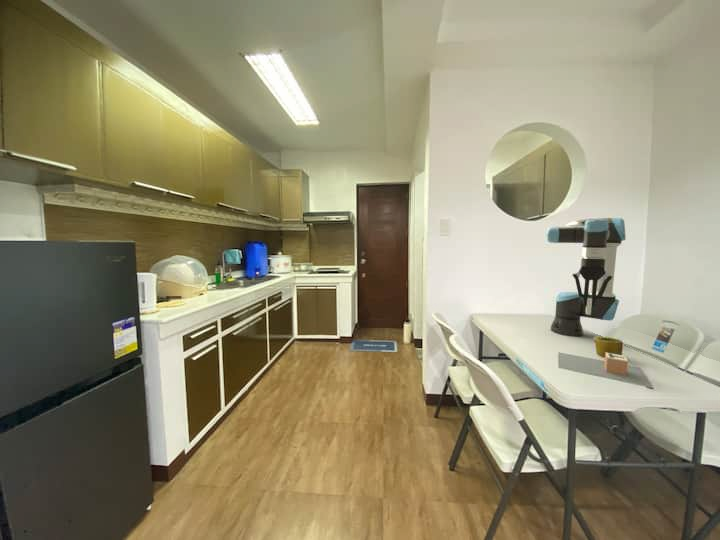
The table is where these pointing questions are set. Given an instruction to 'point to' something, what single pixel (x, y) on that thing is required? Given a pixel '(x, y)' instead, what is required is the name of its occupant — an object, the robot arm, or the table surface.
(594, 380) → the table surface
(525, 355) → the table surface
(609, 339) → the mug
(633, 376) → the mat
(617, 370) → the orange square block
